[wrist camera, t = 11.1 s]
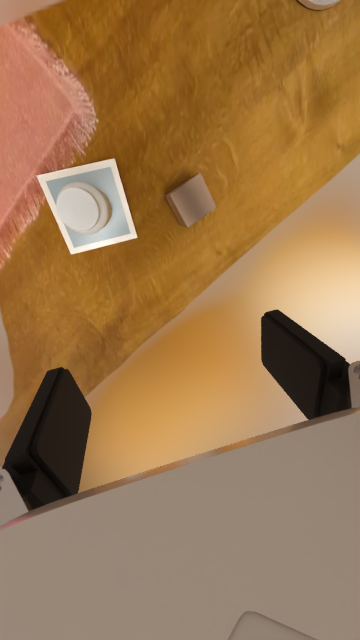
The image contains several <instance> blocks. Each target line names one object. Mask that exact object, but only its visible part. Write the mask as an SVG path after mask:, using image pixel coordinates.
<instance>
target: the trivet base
mask: <svg viewBox="0 0 360 640" xmlns="http://www.w3.org/2000/svg"><path fill="white" fill-rule="evenodd" d="M37 178H38V180H39V183H40V185H41V187H42V189H43V192H44V194H45V196H46V198H47V201H48V203H49V205H50V207H51V210H52V212H53V214H54V217H55V219H56V221H57V223H58V226H59V228H60V230H61V232H62V235H63V237H64V239H65V241H66V244H67V246H68V248H69V250H70V253H71V254H75V253H79V252H83V251H87V250H91V249H95V248H99V247H103V246H107V245H110V244H114V243H118V242H122V241H126V240H130V239H134V238H137V235H136V231H135V228H134V224H133V221H132V217H131V214H130V210H129V207H128V203H127V200H126V196H125V193H124V189H123V186H122V183H121V179H120V176H119V172H118V169H117V165H116V162H115V158H113V159H109V160H104V161H100V162H95V163H91V164H86V165H82V166H77V167H73V168H69V169H64V170H60V171H55V172H51V173H46V174H42V175H37ZM72 182H84V183H87V184H89V185H91V186H93V187H95V188H97V189H99V190H100V191H102V192H103V193H104V194H105V195H106V197H107V198H108V200H109V202H110V205H111V210H112V213H111V218H110V221H109V222H108V224H107V225H106V226H105V227H103V228H102V229H101V230H100V231H99V232H97V233H94V234H90V235H83V234H79V233H76V232H74V231H72V230H71V229H69V228H68V227H67V226H66V225H65V224H64V223H63V222H62V220H61V219H60V217H59V215H58V213H57V209H56V201H57V197H58V194H59V192H60V190H61V189H62V188H63V187H64V186H65V185H67V184H69V183H72Z"/></svg>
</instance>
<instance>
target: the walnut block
mask: <svg viewBox="0 0 360 640" xmlns="http://www.w3.org/2000/svg"><path fill="white" fill-rule="evenodd" d="M165 198H166V200H167V201H168V203H169V205H170V207H171V209H172V210H173V212H174V214H175V216H176V218H177V219H178V221H179V223H180V225H181V226H184V227H187V228H188V227H190V226H191V225H193V224H194V223H196V222H197V221H199V220H200V219H201V218H203V217H204V216H206V215H207V214H209V213H210V212H212V211H213V210H214V209H216V208H217V207H216V205H215V203H214V201H213V199H212V196H211V194H210V192H209V190H208V188H207V186H206V183H205V181H204V179H203V177H202V175H201V173H198V174H196V175H194V176H192V177H190V178H189V179H187V180H186V181H185V182H183V183H182V184H180V185H179V186H178V187H176V188H175V189H173V190H172V191H171V192H169V193H168V194H166V195H165Z"/></svg>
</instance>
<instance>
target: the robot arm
mask: <svg viewBox="0 0 360 640" xmlns="http://www.w3.org/2000/svg"><path fill="white" fill-rule="evenodd" d="M298 1H299V2H300V3H301V4H303V5H304V6H306V7H307V8H310V9H314V10H324V9H327V8H330V7H332V6H334V5H335V4H337V3H339V2H340V1H341V0H298ZM261 343H262V344H261V356H262V357H261V358H262V363H263V365H264V366H265V368H266V369H267V370H268V371H269V373H270V374H271V375H272V376H273V377H274V379H275V380H276V381H277V382H278V383H279V385H280V386H281V387H282V388H283V389H284V391H285V392H286V393H287V395H288V396H289V397H290V398H291V399H292V400H293V402H294V403H295V404H296V405H297V407H298V408H299V409H300V410H301V412H302V413H303V414H304V415H305V416H306V418H307V419H309V420H307V421H304V422H300V423H297V424H294V425H291V426H287V427H284V428H281V429H278V430H275V431H271V432H268V433H265V434H262V435H258V436H255V437H252V438H249V439H246V440H242V441H239V442H236V443H233V444H230V445H226V446H223V447H220V448H217V449H214V450H211V451H208V452H205V453H201V454H198V455H195V456H192V457H189V458H185V459H183V460H179V461H176V462H173V463H170V464H167V465H164V466H160V467H157V468H154V469H151V470H148V471H145V472H142V473H139V474H136V475H132V476H130V477H126V478H124V479H120V480H117V481H114V482H111V483H108V484H105V485H101V486H98V487H96V488H92V489H90V490H87V491H84V492H81V493H78V490H79V484H80V479H81V473H82V467H83V461H84V456H85V450H86V444H87V438H88V433H89V427H90V421H91V409H90V407H89V405H88V403H87V401H86V400H85V398H84V396H83V394H82V393H81V391H80V389H79V387H78V386H77V384H76V382H75V380H74V378H73V377H72V375H71V373H70V371H69V370H68V369H64V368H63V367H60V368H56V369H52V370H49V371H47V373H46V375H45V377H44V379H43V381H42V383H41V385H40V387H39V389H38V391H37V393H36V396H35V398H34V400H33V402H32V404H31V406H30V408H29V410H28V412H27V414H26V416H25V419H24V421H23V423H22V425H21V427H20V429H19V431H18V433H17V435H16V437H15V439H14V442H13V444H12V446H11V448H10V450H9V452H8V454H7V456H6V458H5V463H4V465H3V467H2V469H0V640H360V361H356V362H354V363H352V364H351V365H350V364H349V363H348V362H346V361H345V360H346V359H345V358H344V357H342V356H340V354H338V353H337V352H335V351H334V350H333V349H331V348H330V347H328V346H327V345H326V344H324V343H323V342H321V341H320V340H319V339H317V338H316V337H315V336H313V335H312V334H311V333H309V332H308V331H307V330H305V329H304V328H302V327H301V326H300V325H298V324H297V323H296V322H294V321H293V320H291V319H290V318H289V317H287V316H286V315H284V314H283V313H282V312H280V311H279V310H273V311H269V312H266V313H265V314H264V316H262V318H261ZM77 493H78V494H77Z"/></svg>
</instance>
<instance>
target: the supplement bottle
mask: <svg viewBox="0 0 360 640" xmlns="http://www.w3.org/2000/svg"><path fill="white" fill-rule="evenodd" d="M56 209H57V213H58V215H59V217H60V219H61V220H62V222H63V223H64V224H65V225H66V226H67V227H68V228H69V229H71V230H72V231H74V232H76V233H79V234H83V235H90V234H94V233H97V232H99V231H100V230H101V229H102V228H103V227H105V226H106V225H107V224H108V222H109V221H110V218H111V213H112V210H111V205H110V202H109V200H108V198H107V197H106V195H105V194H104V193H103V192H102V191H100V190H99V189H97V188H95V187H93V186H91V185H89V184H87V183H84V182H72V183H69V184H67V185H65V186H64V187H63V188H62V189H61V190H60V192H59V194H58V197H57V201H56Z"/></svg>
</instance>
